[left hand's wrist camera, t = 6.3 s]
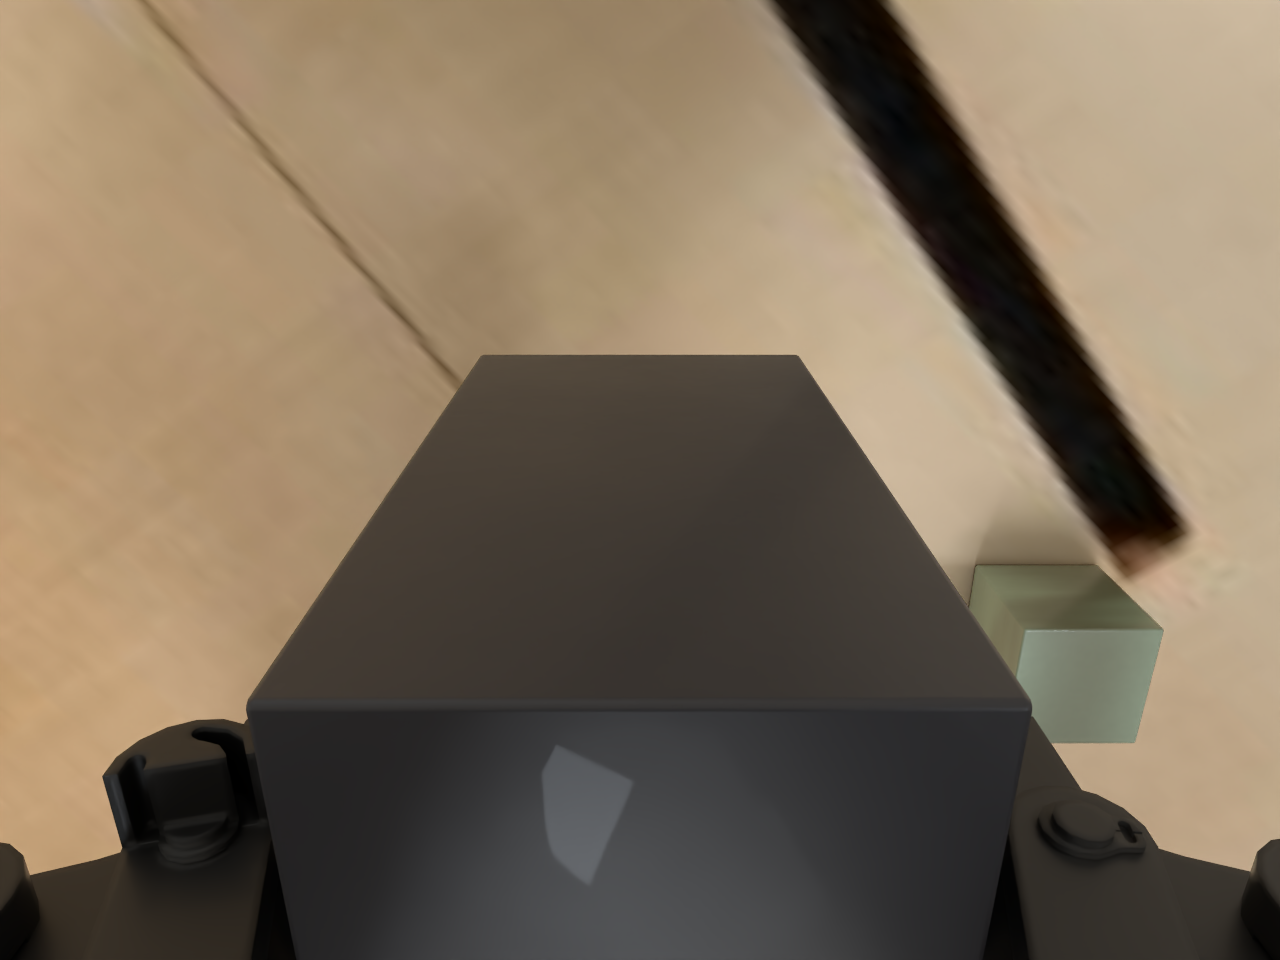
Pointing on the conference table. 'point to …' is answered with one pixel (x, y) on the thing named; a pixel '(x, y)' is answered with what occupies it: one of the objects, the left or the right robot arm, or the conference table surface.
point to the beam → (639, 690)
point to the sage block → (1070, 646)
